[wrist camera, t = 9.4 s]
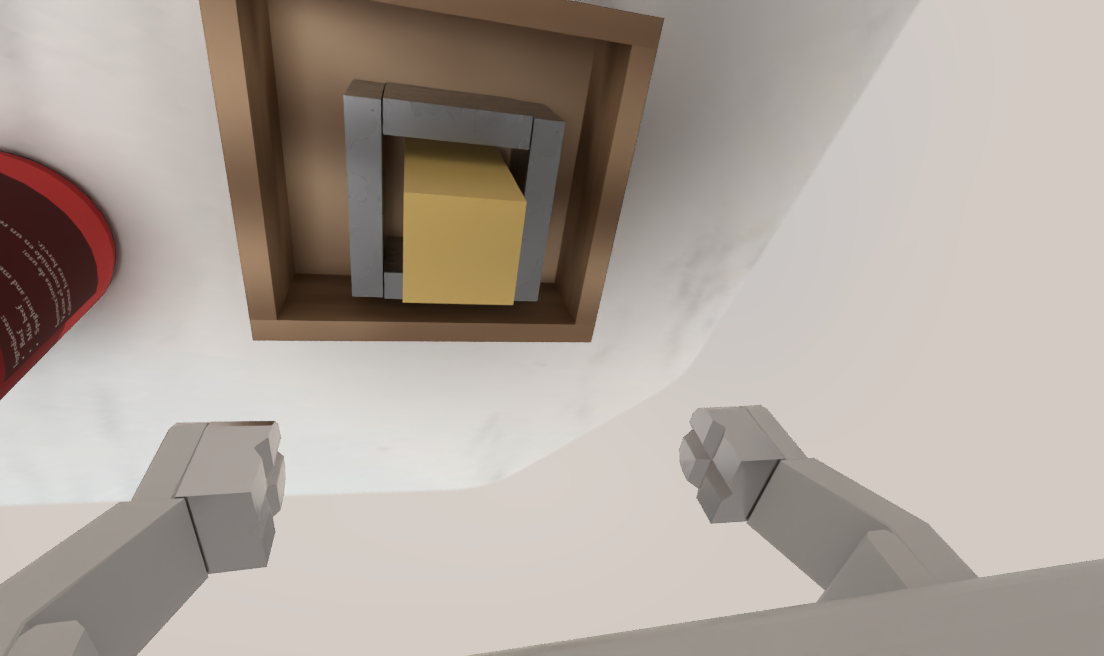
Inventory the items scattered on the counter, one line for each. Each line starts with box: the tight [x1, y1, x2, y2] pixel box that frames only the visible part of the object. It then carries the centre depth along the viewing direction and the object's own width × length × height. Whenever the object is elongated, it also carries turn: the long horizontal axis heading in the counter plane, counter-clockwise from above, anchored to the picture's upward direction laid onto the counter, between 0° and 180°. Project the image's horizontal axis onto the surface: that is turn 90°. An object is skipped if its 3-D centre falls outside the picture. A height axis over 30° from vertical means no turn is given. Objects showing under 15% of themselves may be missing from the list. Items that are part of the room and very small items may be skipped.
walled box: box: [199, 0, 664, 342], centre depth 23 cm, size 14×15×5 cm
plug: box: [403, 137, 527, 305], centre depth 22 cm, size 4×4×8 cm
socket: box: [343, 79, 566, 301], centre depth 23 cm, size 8×8×4 cm
